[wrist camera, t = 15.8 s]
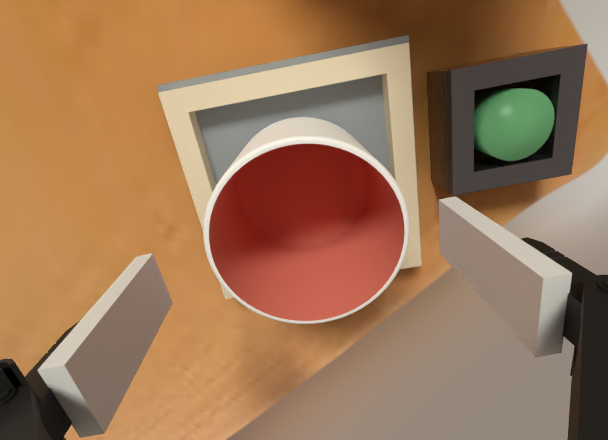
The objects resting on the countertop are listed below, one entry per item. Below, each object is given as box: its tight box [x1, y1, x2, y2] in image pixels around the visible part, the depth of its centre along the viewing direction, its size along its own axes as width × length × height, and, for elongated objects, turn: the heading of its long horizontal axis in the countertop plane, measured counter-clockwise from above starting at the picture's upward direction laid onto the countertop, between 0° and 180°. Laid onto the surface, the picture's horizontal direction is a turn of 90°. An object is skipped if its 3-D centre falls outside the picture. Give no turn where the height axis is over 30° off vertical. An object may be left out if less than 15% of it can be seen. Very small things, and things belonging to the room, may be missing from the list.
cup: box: [203, 117, 410, 324], centre depth 21 cm, size 10×10×10 cm
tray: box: [157, 35, 422, 299], centre depth 25 cm, size 17×17×3 cm
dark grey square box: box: [427, 44, 587, 195], centre depth 23 cm, size 8×8×4 cm
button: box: [474, 88, 554, 161], centre depth 23 cm, size 4×4×3 cm
